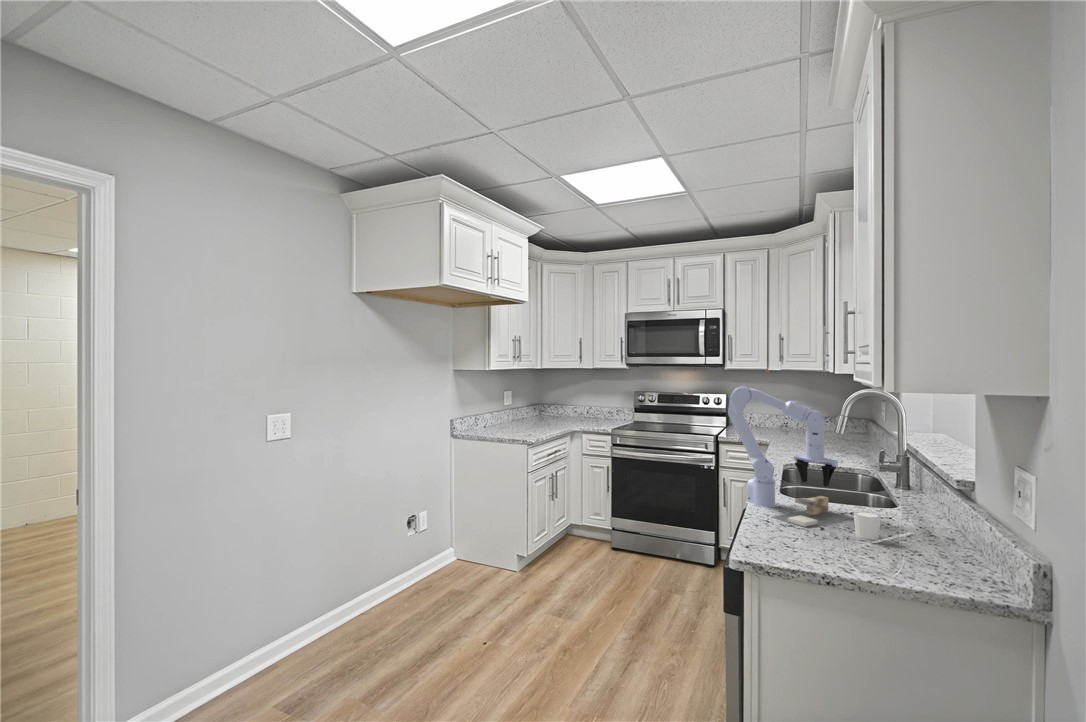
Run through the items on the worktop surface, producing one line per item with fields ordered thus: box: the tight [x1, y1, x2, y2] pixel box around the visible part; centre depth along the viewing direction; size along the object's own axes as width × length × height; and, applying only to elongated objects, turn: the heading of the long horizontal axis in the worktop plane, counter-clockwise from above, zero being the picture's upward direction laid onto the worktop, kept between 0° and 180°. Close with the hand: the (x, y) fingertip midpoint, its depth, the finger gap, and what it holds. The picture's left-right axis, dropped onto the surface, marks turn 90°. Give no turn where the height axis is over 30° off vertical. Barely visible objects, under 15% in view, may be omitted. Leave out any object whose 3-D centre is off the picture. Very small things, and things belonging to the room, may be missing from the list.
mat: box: [770, 509, 854, 530], centre depth 172 cm, size 14×24×1 cm, turn 117°
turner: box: [794, 495, 829, 515], centre depth 178 cm, size 12×5×5 cm, turn 117°
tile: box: [787, 515, 817, 528], centre depth 166 cm, size 6×1×6 cm
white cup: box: [853, 511, 882, 542], centre depth 153 cm, size 7×7×7 cm
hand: (815, 484), depth 183 cm, fingers open, 7 cm apart
